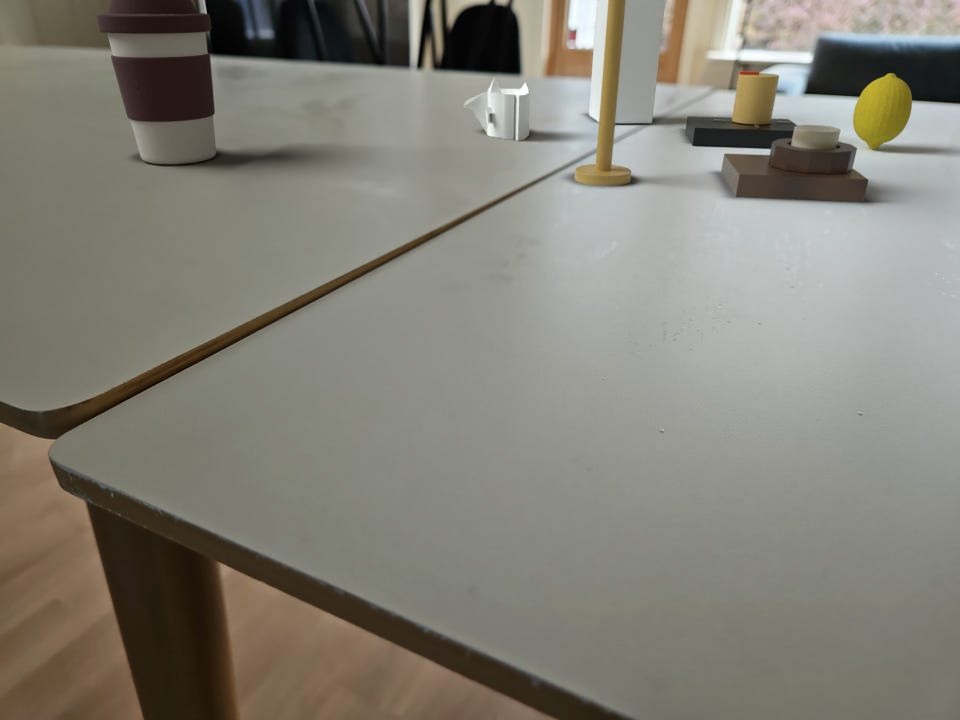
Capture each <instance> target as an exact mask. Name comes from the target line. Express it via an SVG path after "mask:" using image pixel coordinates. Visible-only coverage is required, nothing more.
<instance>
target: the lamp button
mask: <svg viewBox="0 0 960 720" xmlns="http://www.w3.org/2000/svg"><path fill="white" fill-rule="evenodd" d="M797 125H798V126H795V127H794V131H793V137H792V142H791V146H795V147H800V148H808V149H824V150H829V149H837V144H838V142H839V141H840V140H839V139H840V134H841V128H839V127H835V126H830V125H822V124H820V125H819V124H797Z"/></svg>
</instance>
